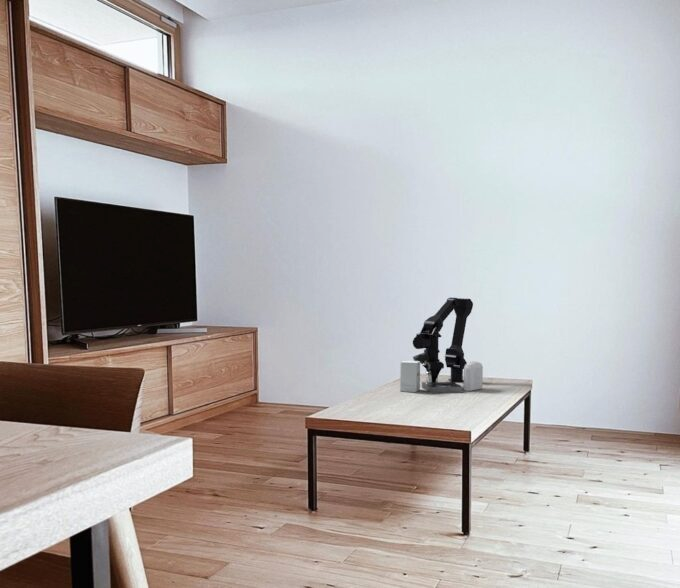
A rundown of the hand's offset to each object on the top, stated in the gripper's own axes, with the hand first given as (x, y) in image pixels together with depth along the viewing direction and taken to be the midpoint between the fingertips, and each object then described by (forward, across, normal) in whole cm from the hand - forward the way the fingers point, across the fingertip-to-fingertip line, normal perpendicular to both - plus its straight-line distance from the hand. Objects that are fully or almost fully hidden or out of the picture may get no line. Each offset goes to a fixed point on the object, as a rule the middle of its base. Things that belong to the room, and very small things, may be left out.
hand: (431, 381), depth 309 cm
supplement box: (+2, +13, -13) cm, 18 cm away
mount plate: (+2, +13, +1) cm, 13 cm away
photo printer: (+2, +13, +15) cm, 20 cm away
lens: (+2, 0, 0) cm, 2 cm away
